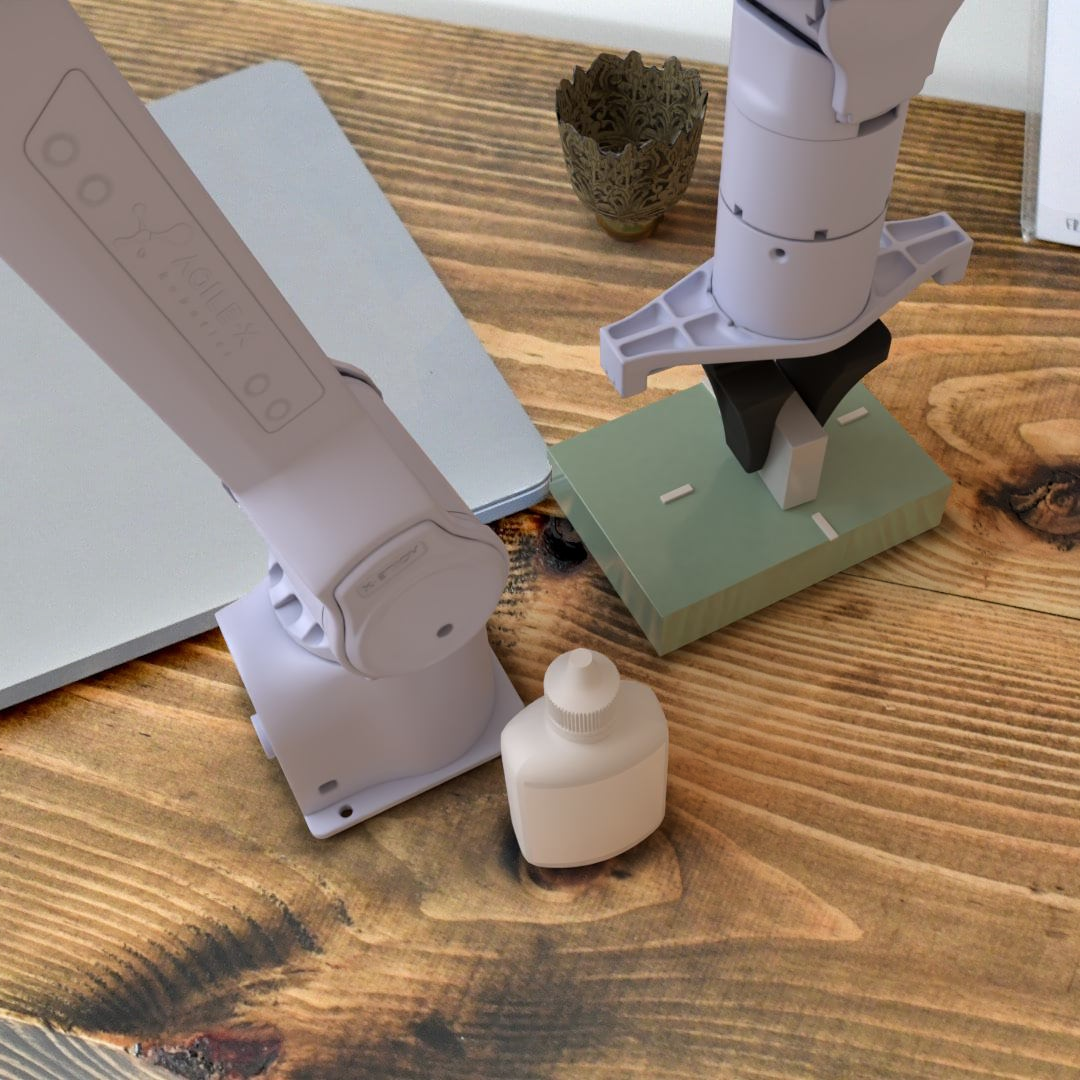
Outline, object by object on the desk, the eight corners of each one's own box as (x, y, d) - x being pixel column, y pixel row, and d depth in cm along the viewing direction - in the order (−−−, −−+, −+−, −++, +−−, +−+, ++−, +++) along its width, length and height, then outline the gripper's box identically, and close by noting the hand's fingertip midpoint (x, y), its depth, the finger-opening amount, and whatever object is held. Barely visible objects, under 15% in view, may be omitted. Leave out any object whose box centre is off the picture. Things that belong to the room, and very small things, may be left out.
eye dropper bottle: (653, 889, 48) (662, 734, 38) (503, 864, 49) (475, 706, 39) (670, 782, 50) (682, 610, 41) (527, 759, 51) (505, 586, 41)
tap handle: (816, 499, 54) (830, 432, 51) (782, 511, 54) (793, 445, 50) (750, 401, 58) (758, 332, 54) (717, 412, 57) (723, 343, 54)
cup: (538, 252, 68) (530, 123, 62) (588, 167, 72) (585, 37, 66) (674, 284, 66) (680, 154, 60) (718, 195, 70) (727, 64, 64)
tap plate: (661, 659, 53) (663, 617, 51) (547, 488, 59) (544, 443, 57) (941, 526, 57) (956, 481, 54) (808, 377, 62) (816, 329, 60)
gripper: (923, 66, 48) (866, 332, 59) (560, 179, 45) (572, 437, 56) (1039, 176, 44) (955, 440, 55) (650, 308, 41) (643, 558, 52)
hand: (767, 446), depth 55 cm, fingers closed on tap handle, 2 cm apart
